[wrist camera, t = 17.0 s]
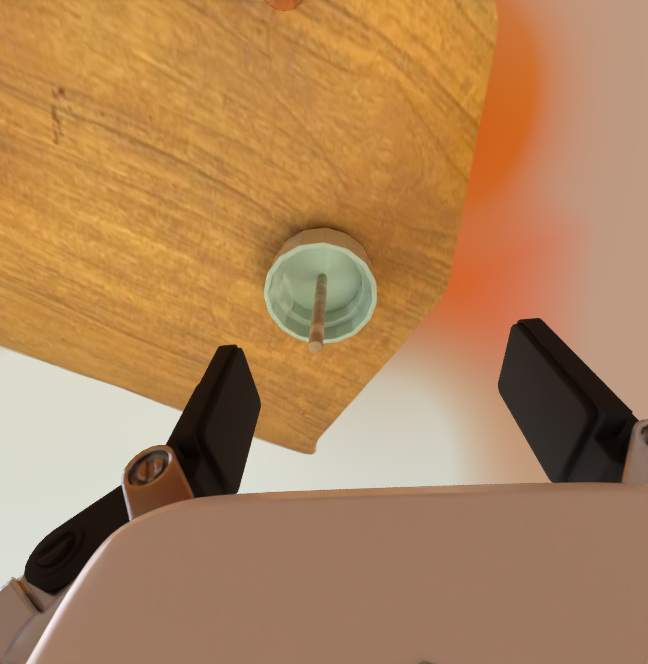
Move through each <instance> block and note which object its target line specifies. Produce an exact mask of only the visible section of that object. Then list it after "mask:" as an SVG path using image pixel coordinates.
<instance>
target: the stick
mask: <svg viewBox="0 0 648 664" xmlns="http://www.w3.org/2000/svg"><path fill="white" fill-rule="evenodd" d="M327 281H328V278H327V276H326V275H325V274H320V275H318V277H317V282H316V289H315V297H314V304H313V312H312V319H311V327H310V334H309V342H308V349H309V350H310V351H311V352H313V353H319V352H321V351H322V349H323V338H324V324H325V309H326V295H327Z"/></svg>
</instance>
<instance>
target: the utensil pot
mask: <svg viewBox="0 0 648 664" xmlns="http://www.w3.org/2000/svg"><path fill="white" fill-rule="evenodd" d="M265 1H266V2H267V3H268V4H270V5H271V6H272V7H274V8H275V9H278V10H281V11H288V10H292V9H294V8H296V7H297V6H298V5H299V4H300V3H301V2H302V1H303V0H265Z"/></svg>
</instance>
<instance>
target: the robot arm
mask: <svg viewBox="0 0 648 664" xmlns="http://www.w3.org/2000/svg"><path fill="white" fill-rule="evenodd" d="M498 389H499V393H500V395H501V396H502V398H503V400H504V401H505V403H506V405H507V407H508V408H509V410H510V412H511V414H512V415H513V417H514V419H515V421H516V422H517V424H518V426H519V428H520V429H521V431H522V433H523V435H524V436H525V438H526V440H527V442H528V443H529V445H530V447H531V449H532V450H533V452H534V454H535V456H536V457H537V459H538V461H539V463H540V464H541V466H542V468H543V470H544V471H545V473H546V475H547V476H548V478H549V479H550V481H551V482H553V483H520V484H489V485H488V484H487V485H457V486H456V485H455V486H422V487H393V488H366V489H338V490H314V491H288V492H268V493H267V492H266V493H249V494H236V493H237V492H238V490H239V487H240V483H241V479H242V476H243V472H244V468H245V464H246V461H247V457H248V453H249V449H250V446H251V442H252V438H253V434H254V431H255V427H256V423H257V419H258V416H259V412H260V408H261V402H260V398H259V395H258V392H257V389H256V386H255V383H254V380H253V378H252V375H251V372H250V369H249V366H248V363H247V361H246V358H245V355H244V352H243V350H242V348H238V347H237V346H236V345H224V346H219V347H218V349H217V351H216V353H215V355H214V357H213V358H212V360H211V362H210V364H209V366H208V368H207V370H206V372H205V374H204V376H203V378H202V380H201V382H200V384H198V385H197V387H196V388H195V390H194V392H193V394H192V396H191V398H190V400H189V401H188V403H187V405H186V407H185V409H184V411H183V413H182V415H181V417H180V419H179V421H178V423H177V424H176V426H175V428H174V430H173V432H172V434H171V436H170V438H169V440H168V442H167V444H166V445H157V446H153V447H150V448H148V449H146V450H143V451H142V452H140V453H139V454H138V455H136V456H135V457H134V458H133V459H132V460H131V461H130V462H129V463H128V465H127V466H126V468H125V469H124V471H123V474H122V476H121V484H122V485H121V486H119V487H117V488H116V489H115V490H113V491H111V492H110V493H108V494H107V495H105V496H104V497H103V498H101V499H99V500H98V501H96V502H95V503H93V504H92V505H90V506H89V507H88V508H86V509H84V510H83V511H81V512H80V513H79V514H77V515H76V516H74V517H73V518H71V519H70V520H68V521H67V522H65V523H64V524H62V525H61V526H59V527H58V528H56V529H55V530H54V531H52V532H51V533H50V534H49V535H47V536H46V537H45V538H44V539H43V540H42V541H41V542H40V543H39V544H38V545H37V546H36V548H35V549H34V551H33V552H32V554H31V555H30V557H29V559H28V561H27V563H26V566H25V572H24V574H23V575H21V576H20V577H19V578H18V579H16V578H14V577H12V578H11V579H10V580H9V581H8V582H7V583H6V584H4V585H3V586H2V587H1V588H0V664H648V419H646V420H641V421H639V420H638V419H637V418H636V417H635V416H634V415H633V414H632V411H631V410H630V409H629V408H628V407H627V406H626V405H625V404H624V403H623V402H622V401H621V400H620V399H619V398H618V397H617V396H616V395H615V394H614V393H613V392H612V391H611V390H610V389H609V388H608V387H607V386H606V385H605V383H604V382H603V381H602V380H601V379H600V378H599V377H597V376H596V374H595V373H594V372H593V371H592V370H591V369H590V368H589V367H588V366H587V365H586V364H585V363H584V362H583V361H582V360H581V359H580V358H579V357H578V356H577V355H576V354H575V353H574V352H573V351H572V350H571V349H570V348H569V347H568V346H567V345H566V344H565V343H564V342H563V341H562V340H561V339H560V338H559V337H558V336H557V335H556V334H555V333H554V332H553V331H552V330H551V329H550V328H549V327H548V326H547V325H546V324H545V322H543V321H542V320H541V319H540V318H533V319H522V320H519V321H518V322H517V324H514V325H513V326H512V327H511V331H510V335H509V339H508V343H507V348H506V352H505V356H504V360H503V365H502V370H501V374H500V377H499V381H498Z"/></svg>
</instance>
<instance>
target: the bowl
mask: <svg viewBox="0 0 648 664" xmlns="http://www.w3.org/2000/svg"><path fill="white" fill-rule="evenodd" d="M320 274H325V275H326V276H327V278H328V281H327V295H326V309H325V324H324V338H323V343H332V342H339V341H341V340H343V339H346V338H348V337H350V336H352V335H355V334H356V333H357V332H358V331H359V330H360V329H361V328H362V327H363V326H364V325H365V324H366V323H367V322H368V321H369V320H370V318H371V316H372V313H373V311H374V309H375V306H376V304H377V288H376V279H375V275H374V270H373V266H372V263H371V261H370V259H369V257H368V255H367V253H366V251H365V249H364V247H363V246H362V245H361V244H359V243H358V242H357V241H356V240H354V239H353V238H352V237H351V236H349V235H348V234H346V233H344V232H340V231H336V230H333V229H329V228H317V229H309V230H304V231H302V232H300V233H298V234H297V235H295V236H293V237H292V238H290V239H288V240H287V241H286V242H285V243H284V244H283V246H282V247H281V249H280V250H279V251H278V253H277V254H276V256H275V258H274V260H273V262H272V264H271V266H270V269H269V271H268V273H267V277H266V282H265V288H264V297H265V301H266V305H267V309H268V312H269V314H270V315H271V317H272V318H273V319H274V320H275V322H276V323H277V324H278V326H279V327H280V328H281V329H282V330H284V331H286V332H287V333H289V334H290V335H292V336H294V337H295V338H297V339H300V340H304V341H308V342H309V334H310V327H311V319H312V312H313V304H314V297H315V289H316V282H317V277H318V275H320Z"/></svg>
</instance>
